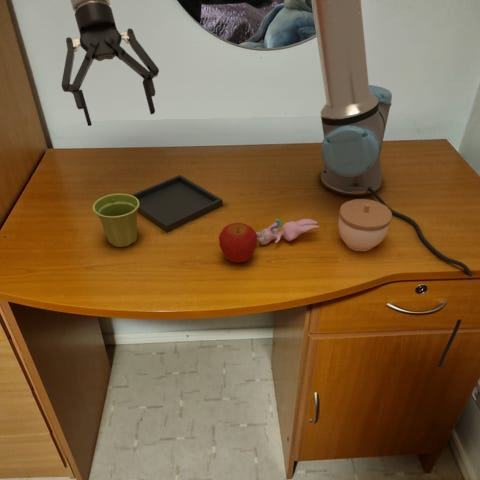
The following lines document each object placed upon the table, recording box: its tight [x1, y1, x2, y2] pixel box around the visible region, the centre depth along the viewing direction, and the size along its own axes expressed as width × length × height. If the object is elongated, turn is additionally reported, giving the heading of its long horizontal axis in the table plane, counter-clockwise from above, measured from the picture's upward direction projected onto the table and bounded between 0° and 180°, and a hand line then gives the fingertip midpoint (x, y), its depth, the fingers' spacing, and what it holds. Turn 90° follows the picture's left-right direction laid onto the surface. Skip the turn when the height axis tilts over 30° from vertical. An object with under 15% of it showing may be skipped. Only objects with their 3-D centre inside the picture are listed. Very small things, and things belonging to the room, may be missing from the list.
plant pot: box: [92, 193, 139, 248], centre depth 102 cm, size 9×9×9 cm
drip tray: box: [131, 174, 224, 233], centre depth 115 cm, size 17×17×2 cm
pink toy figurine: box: [255, 218, 321, 246], centre depth 104 cm, size 6×6×15 cm
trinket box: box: [337, 198, 393, 252], centre depth 101 cm, size 11×11×9 cm
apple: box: [218, 222, 258, 264], centre depth 98 cm, size 8×8×8 cm
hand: (121, 118), depth 102 cm, fingers open, 13 cm apart
